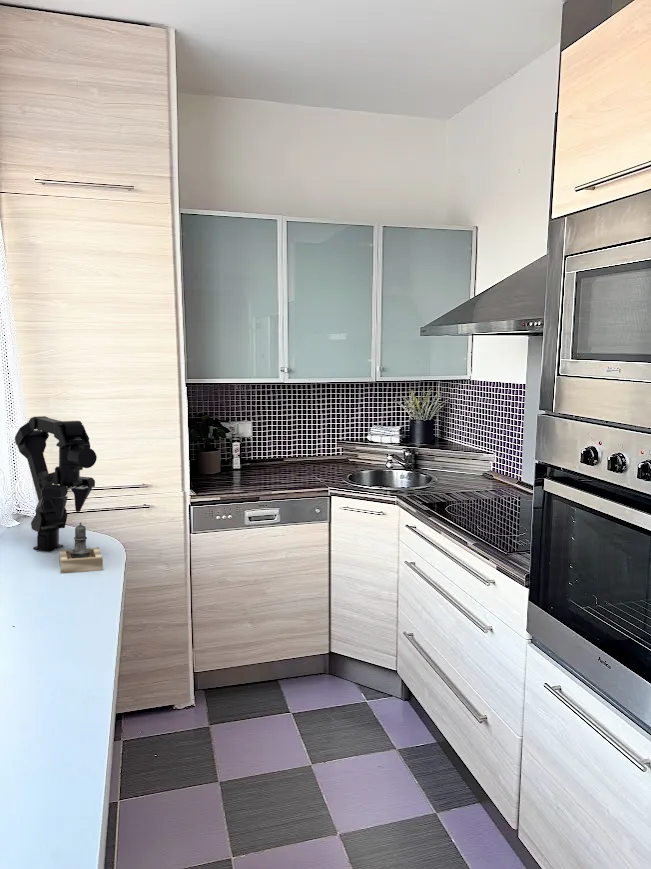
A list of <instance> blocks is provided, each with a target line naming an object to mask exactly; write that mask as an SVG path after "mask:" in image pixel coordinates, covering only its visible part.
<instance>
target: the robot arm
mask: <svg viewBox="0 0 651 869" xmlns="http://www.w3.org/2000/svg"><path fill="white" fill-rule="evenodd" d="M85 428H86V427H85V426H84V424H83V422H81V421H80V420H63V421H62V420H60V419H59V420H58V419H55V418H50V417H48V416H44V415H43V416H40V415H39V416H31V417H30V418H29V420H28V421H27V422H26V423H25V424H24V425H22V426H21V427H19V428H18V431H17V432H16V434H15V437H14V442H15V443H14V444H16V446H17V449H18V451H19V453H20V454H21V455H22V456H23V457H25V459H26V460H27V464H28V466H29V469H30V470H29V471H30V474H31V477H32V482H33V485H34V489H35V493H36V496H37V500H38V502H37V505H36V508H35V509H34V510H35V515H34V517H33V519H32V520H31V521H30V525H31V526H30V527H31V530H32V531H35V532H37V535H36V537H37V538H36V540H37V541H36V544H37V545H36V546H34V547H32V550H35V551H44V552H53V551H56V550H58V549H60V548H63V547H64V544H63V543H62V544H61V543H60V529H65V528H66V524H67V520H68V519H67V518H68V511H67V508H66V505H67V501H68V498H69V496H67V495H68V491H70V490H71V491H72V492H73V496H74V507H75V512H77V513H80V512H81V510H82V508H83V506H84V504H85V502H86V500H87V498H88V497H89V495H90V493H91V492H92V490H93V488H95V487H96V481H95V480H96V479H94V477H91V476H90V477H88V476H80V474H81V473H80V472H81V471H83V469H84V468H85V469H90V468H92V467H93V466H94V465H95V464H96V462H97V458H98V457H97V456H98V455H97V454H96V451H94V449H92V448H91V442H90V437H89V436H88V433H87V431H86V429H85ZM50 434H52V435H53V437H54V439H56V440H57V441H58V442H57V443H56V445H55V446H56V447H58V448H59V449H58V466H55V467H54V472H49V469H48V467H47V463H46V459H45V455H44V453H45V449H46V447H47V441H48V439H49V437H50Z"/></svg>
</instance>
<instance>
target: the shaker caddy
mask: <svg viewBox="0 0 651 869" xmlns="http://www.w3.org/2000/svg"><path fill="white" fill-rule="evenodd" d="M87 548H88V549H90V550H91V552H90V555H89V557H87V558H72V557H71V555H70V552H69V551H70V550H72V549H73V548H70V549H59V551H58V554H59V556H58V563H59V569H60V573H61V574H67V573H69V574H71V573H80V572H81V573H84V571H85V572H94V571H103V565H104V564H103V561H104V560H103V559H104V558H103V555H102V553H101V549H100V547H87Z"/></svg>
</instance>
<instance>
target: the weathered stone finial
mask: <svg viewBox="0 0 651 869" xmlns="http://www.w3.org/2000/svg"><path fill="white" fill-rule="evenodd" d="M86 529H87V528H86V526H84V525H83V524H82V522H80V523H79V525H76V527H74V537H73V540H74V547H73V548H71V549H72V550H70V551H69V552H70V555H71V557H72V558H87V557H89V555H90V552H91V550H90V549H88V548H89V547H87V538H88V537H87V536H86V532H87V530H86Z"/></svg>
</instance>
